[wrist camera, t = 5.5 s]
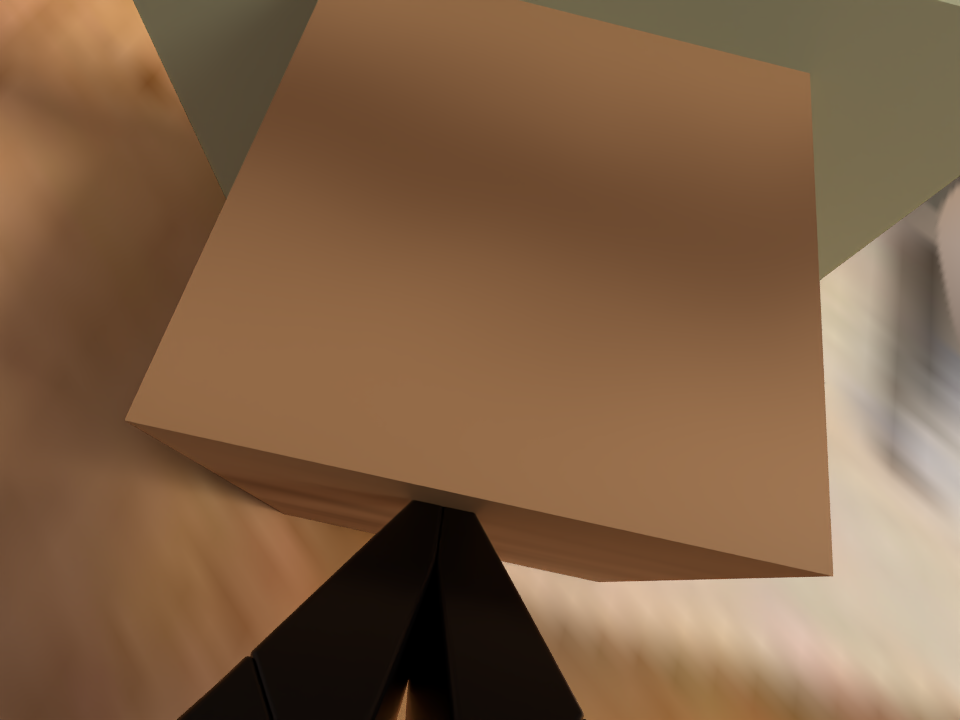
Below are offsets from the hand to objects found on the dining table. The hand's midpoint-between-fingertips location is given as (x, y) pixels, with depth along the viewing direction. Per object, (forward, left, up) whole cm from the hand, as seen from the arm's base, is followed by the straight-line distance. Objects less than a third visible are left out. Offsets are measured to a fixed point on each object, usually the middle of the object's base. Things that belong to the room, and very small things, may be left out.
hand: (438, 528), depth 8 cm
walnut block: (+4, 0, -7) cm, 8 cm away
